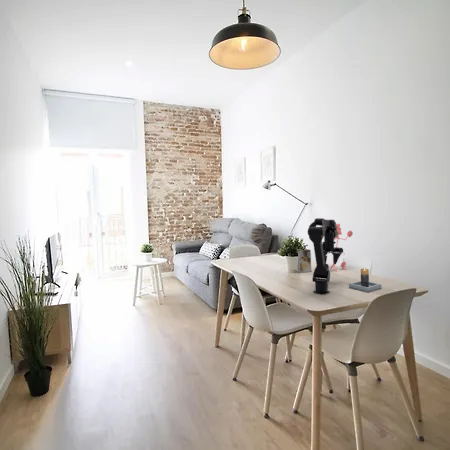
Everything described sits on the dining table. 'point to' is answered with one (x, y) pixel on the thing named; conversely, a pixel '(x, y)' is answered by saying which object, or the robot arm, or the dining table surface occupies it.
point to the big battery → (365, 277)
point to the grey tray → (366, 289)
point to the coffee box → (304, 261)
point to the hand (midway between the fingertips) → (329, 265)
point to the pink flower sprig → (337, 242)
